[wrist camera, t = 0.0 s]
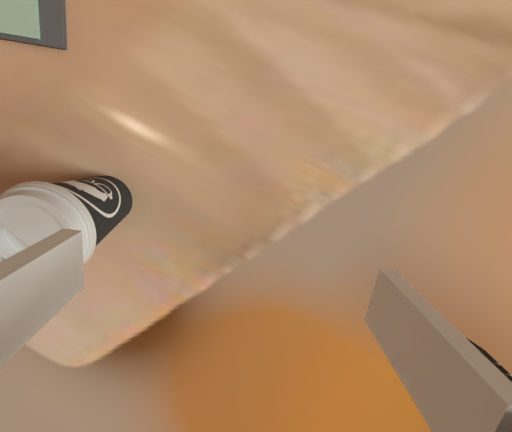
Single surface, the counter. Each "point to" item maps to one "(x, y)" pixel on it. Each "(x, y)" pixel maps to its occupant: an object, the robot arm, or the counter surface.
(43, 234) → the coffee cup
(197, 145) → the counter surface
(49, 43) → the tile board
